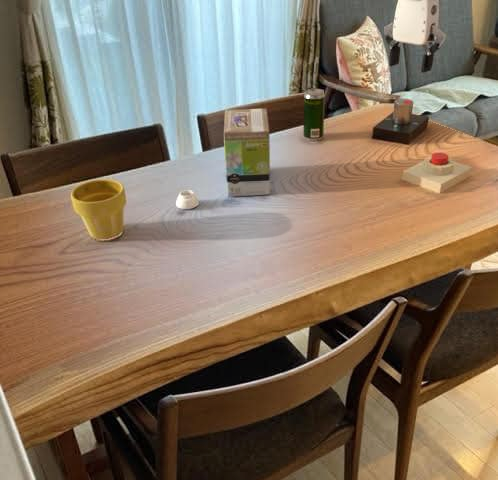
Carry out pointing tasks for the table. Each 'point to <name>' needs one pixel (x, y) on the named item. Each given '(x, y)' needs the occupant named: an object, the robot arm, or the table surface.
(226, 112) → the tea box
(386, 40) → the robot arm
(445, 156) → the button
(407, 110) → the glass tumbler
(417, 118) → the hob
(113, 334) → the table surface
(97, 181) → the flower pot
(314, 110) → the beer can
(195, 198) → the lidless jar
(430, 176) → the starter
